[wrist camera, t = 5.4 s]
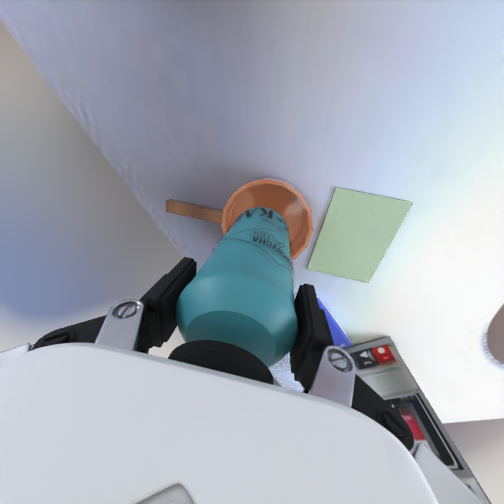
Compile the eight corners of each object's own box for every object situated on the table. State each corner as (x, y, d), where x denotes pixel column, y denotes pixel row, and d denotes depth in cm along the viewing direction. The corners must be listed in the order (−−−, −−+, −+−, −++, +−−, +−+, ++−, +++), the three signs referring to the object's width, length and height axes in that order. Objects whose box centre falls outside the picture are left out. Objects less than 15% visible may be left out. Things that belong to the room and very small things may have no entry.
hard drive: (353, 345, 34) (319, 299, 31) (313, 358, 37) (278, 317, 34) (350, 338, 36) (317, 293, 33) (311, 351, 39) (278, 311, 35)
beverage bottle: (275, 258, 25) (266, 512, 7) (229, 240, 24) (93, 455, 7) (298, 213, 22) (383, 455, 4) (245, 192, 21) (78, 348, 4)
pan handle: (170, 209, 28) (166, 211, 26) (170, 199, 27) (165, 200, 26) (225, 221, 27) (223, 224, 26) (226, 211, 26) (224, 213, 25)
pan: (224, 247, 31) (218, 257, 28) (233, 170, 26) (227, 170, 23) (296, 263, 31) (297, 275, 28) (320, 187, 25) (326, 190, 22)
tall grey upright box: (388, 334, 34) (593, 662, 12) (399, 355, 36) (595, 675, 13) (316, 354, 39) (364, 613, 16) (329, 371, 40) (388, 628, 18)
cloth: (306, 268, 31) (306, 269, 31) (335, 187, 25) (336, 187, 25) (367, 282, 30) (368, 283, 30) (411, 202, 25) (413, 202, 24)
